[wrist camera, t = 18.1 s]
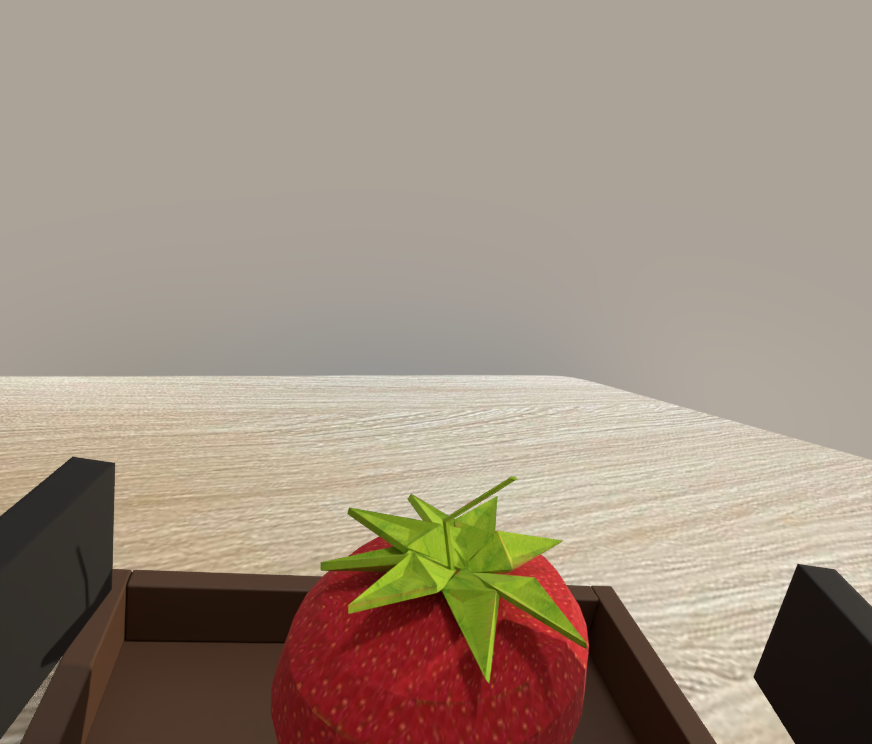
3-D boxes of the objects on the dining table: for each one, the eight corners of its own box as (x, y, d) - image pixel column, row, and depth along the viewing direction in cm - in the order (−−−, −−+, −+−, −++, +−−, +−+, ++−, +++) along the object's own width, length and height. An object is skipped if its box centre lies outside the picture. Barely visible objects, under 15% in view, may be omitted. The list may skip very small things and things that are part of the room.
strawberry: (572, 803, 17) (681, 456, 14) (419, 1141, 11) (557, 640, 8) (387, 686, 20) (446, 373, 17) (176, 903, 13) (209, 460, 10)
